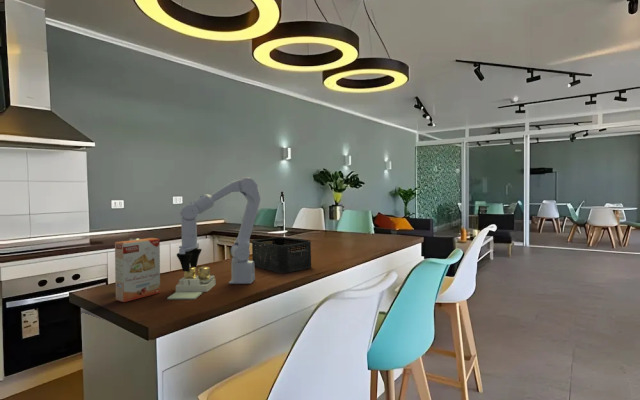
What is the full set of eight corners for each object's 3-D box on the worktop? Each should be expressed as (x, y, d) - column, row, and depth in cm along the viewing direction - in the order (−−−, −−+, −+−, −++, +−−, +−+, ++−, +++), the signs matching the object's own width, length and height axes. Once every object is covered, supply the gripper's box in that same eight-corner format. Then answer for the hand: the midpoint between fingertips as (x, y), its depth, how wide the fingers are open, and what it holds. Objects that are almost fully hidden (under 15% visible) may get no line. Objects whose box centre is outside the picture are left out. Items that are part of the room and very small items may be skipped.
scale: (215, 284, 144) (215, 273, 144) (206, 291, 134) (206, 279, 134) (186, 284, 144) (186, 273, 144) (175, 291, 134) (175, 279, 134)
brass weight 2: (211, 276, 142) (211, 266, 142) (207, 279, 138) (207, 269, 137) (200, 276, 142) (200, 266, 142) (196, 279, 138) (196, 269, 138)
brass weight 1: (197, 276, 142) (197, 266, 142) (193, 279, 138) (193, 269, 138) (187, 276, 142) (186, 266, 142) (182, 279, 138) (182, 269, 138)
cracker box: (124, 303, 121) (122, 243, 120) (115, 300, 124) (113, 241, 124) (161, 293, 133) (160, 238, 132) (152, 290, 136) (150, 237, 136)
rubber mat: (202, 293, 132) (202, 292, 132) (195, 299, 125) (194, 297, 125) (176, 293, 132) (176, 292, 132) (167, 299, 125) (167, 297, 125)
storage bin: (249, 265, 181) (249, 239, 181) (280, 260, 194) (279, 236, 194) (282, 275, 160) (282, 245, 160) (314, 268, 173) (314, 241, 173)
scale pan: (214, 278, 144) (214, 275, 143) (208, 283, 136) (208, 280, 136) (186, 278, 144) (186, 275, 144) (178, 283, 136) (178, 280, 136)
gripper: (186, 232, 147) (187, 265, 147) (171, 237, 132) (171, 273, 133) (203, 232, 147) (204, 265, 147) (189, 237, 132) (190, 273, 133)
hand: (189, 269), depth 140 cm, fingers open, 7 cm apart
